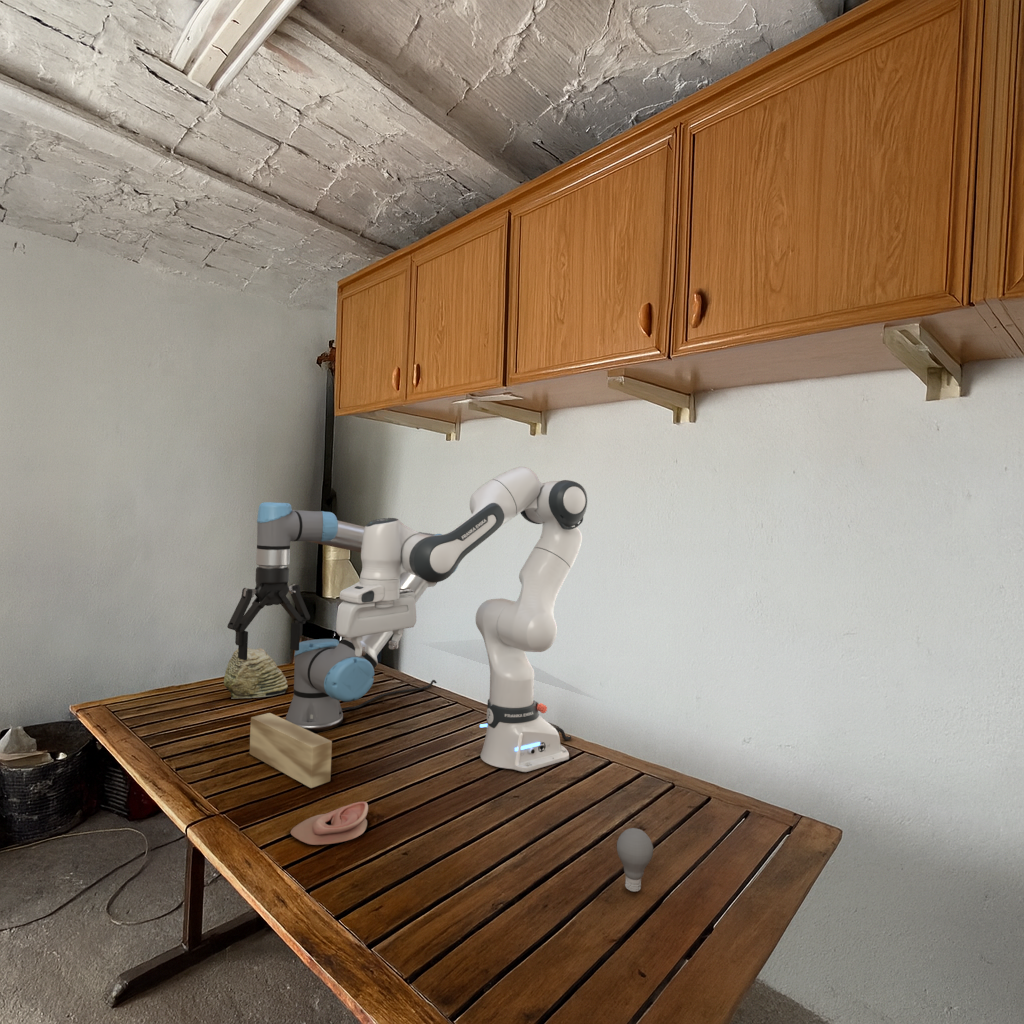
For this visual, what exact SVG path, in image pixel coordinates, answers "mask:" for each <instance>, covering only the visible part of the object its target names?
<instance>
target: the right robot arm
mask: <svg viewBox="0 0 1024 1024" xmlns="http://www.w3.org/2000/svg"><path fill="white" fill-rule="evenodd" d="M587 508H588V493H587V491H586V489H585V488H584V486H583V485H582V484H580V483H578V482H577V481H574V480H571V479H569V480H568V479H563V480H562V479H561V480H552V481H546V482H541V481H540V479H539V477H538V476H537V474H536V473H535V472H534V471H533V470H532V469H531V468H529V467H527V466H518V467H514V468H511V469H509V470H507V471H504V472H502V473H500V474H498V475H497V476H495V477H493V478H492V479H489V480H488V481H487V482H485V483H484V484H482V485H480V486H479V487H478V488H477V489H476V490H475V491H474V492H473V493H472V494H471V495H470V500H469V510H470V513H471V515H470V516H469V517H467V518H466V519H465V520H463V521H461V522H460V523H459V524H458V525H457V526H455V527H454V528H453V529H452V530H450V531H449V532H447V533H442V535H437V536H431V535H425V534H421V533H419V532H420V531H417V530H414V529H413V528H410V527H408V526H407V525H405V524H404V523H402V522H401V520H399V518H396V517H387V518H386V517H385V518H378V519H373V520H371V521H369V522H368V523H366V525H365V526H364V527H365V529H364V533H363V538H362V548H361V552H360V560H361V567H362V568H361V572H360V575H359V581H358V582H356V583H354V584H352V585H350V586H348V587H346V588H344V589H342V590H341V591H340V592H339V599H340V600H341V602H340V604H339V605H338V608H337V612H336V623H335V629H336V634H337V635H338V636H339V637H341V638H351V641H352V643H353V645H354V647H355V655H356V656H364V655H365V651H366V648H365V647H362V645H361V643H360V641H362V636H365V635H371V634H377V633H382V632H388V631H393V635H392V638H391V640H388V649H389V650H392V651H393V650H398V649H399V646H400V645H399V643H400V641H401V639H402V637H403V635H404V630H406V629H410V628H414V627H415V625H416V623H417V605H416V603H415V594H414V592H413V591H412V590H411V589H410V588H404V589H401V588H400V575H401V574H402V573H403V572H407V573H409V574H412V575H415V576H418V577H420V578H422V579H424V580H426V581H428V582H437V583H441V582H443V581H445V580H447V579H448V578H449V577H451V576H452V574H454V573H455V572H456V570H457V569H458V567H459V565H460V563H461V562H462V560H463V559H464V558H465V557H466V556H467V555H468V554H470V553H471V552H472V551H474V549H476V548H477V547H478V546H480V545H481V544H482V543H484V542H485V541H486V540H487V539H488V538H489V537H491V536H492V535H493V534H494V533H496V531H498V529H500V528H501V527H502V526H503V525H505V524H506V523H509V521H511V520H513V519H514V518H515V517H517V516H518V515H519V514H520V515H521V516H522V517H523V519H524V520H526V521H527V522H529V523H531V524H535V525H542V530H541V535H540V537H539V539H538V540H537V542H536V544H535V545H534V547H533V549H532V550H531V552H530V554H529V556H528V557H527V559H526V560H525V562H524V564H523V566H522V567H521V569H520V570H519V574H518V580H519V582H520V584H521V588H520V592H519V596H518V598H517V600H516V601H514V600H511V599H508V598H502V597H501V598H490V599H486V600H485V601H483V602H482V603H481V604H480V605H479V606H478V608H477V610H476V613H475V624H476V628H477V629H478V631H479V632H480V634H481V636H482V639H483V642H484V646H485V649H486V654H487V659H488V664H489V696H488V697H489V698H488V699H487V705H486V723H482V724H479V728H486V732H485V737H484V741H483V746H482V749H481V752H480V755H479V757H480V759H481V761H483V762H484V763H486V764H487V765H490V766H492V767H496V768H500V769H507V770H514V771H518V772H522V773H527V772H531V771H535V770H538V769H541V768H544V767H548V766H551V765H555V764H558V763H561V762H564V761H568V760H569V759H570V753H569V751H568V750H567V748H566V747H565V746H563V744H561V738H560V735H561V736H562V739H563V740H564V741H569V740H571V739H572V736H571V735H568V736H570V737H568V736H566V734H565V731H564V729H563V728H562V727H560V726H559V725H556V724H554V723H552V722H549V721H548V720H546V719H544V718H543V716H541V715H540V713H541V714H545V713H546V712H548V706H547V705H545V704H544V703H540V702H538V701H536V700H534V696H535V695H534V693H535V675H536V674H535V670H534V667H533V666H532V664H531V662H530V661H529V658H528V656H527V653H542V652H546V651H547V650H549V649H550V648H551V647H552V646H553V644H554V643H555V641H556V638H557V636H558V625H557V622H556V621H557V620H556V618H555V614H554V613H555V604H556V600H557V597H558V594H559V592H560V591H561V589H562V586H563V584H564V582H565V580H566V579H567V577H568V575H569V573H570V571H571V569H573V568H572V567H573V566H574V563H575V561H576V559H577V557H578V554H579V552H580V549H581V545H582V543H583V534H582V532H581V530H580V529H579V528H578V527H579V526H580V525H581V524H583V521H584V516H585V514H586V512H587ZM457 566H458V567H457ZM456 568H457V569H456ZM455 569H456V570H455ZM454 571H455V572H454ZM453 572H454V573H453ZM410 591H411V592H410ZM539 712H540V713H539Z"/></svg>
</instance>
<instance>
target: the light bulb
mask: <svg viewBox="0 0 1024 1024" xmlns="http://www.w3.org/2000/svg"><path fill="white" fill-rule="evenodd" d="M616 852H617V856H618V858H619V860H620V862H621V864H622V866H623V872H624V875H625V882H624V887H625V889H627V890H628V891H630V892H633V893H634V892H635V893H636V892H639V891H641V889H642V878H643V876H644V875H645V869H646V868H647V867H648V865H649V864H650V862H651V860H652V858H653V855H654V845H653V842H652V840H651V838H650V836H649V835H648V834H647V832H645V831H644V830H642V829H640V828H636V827H629V828H627V829H625V830H624V831H623V832H622V833H620V835H619V836H618V839H617V841H616Z"/></svg>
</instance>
